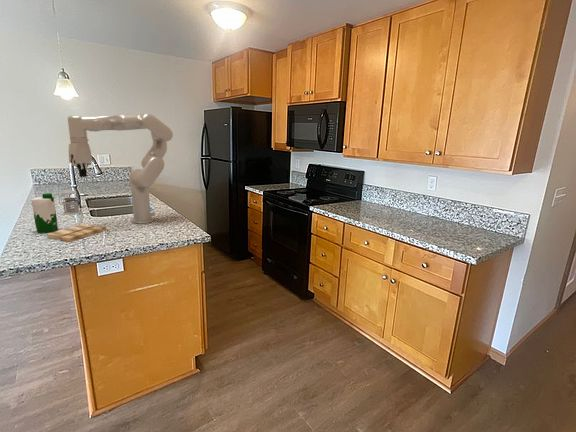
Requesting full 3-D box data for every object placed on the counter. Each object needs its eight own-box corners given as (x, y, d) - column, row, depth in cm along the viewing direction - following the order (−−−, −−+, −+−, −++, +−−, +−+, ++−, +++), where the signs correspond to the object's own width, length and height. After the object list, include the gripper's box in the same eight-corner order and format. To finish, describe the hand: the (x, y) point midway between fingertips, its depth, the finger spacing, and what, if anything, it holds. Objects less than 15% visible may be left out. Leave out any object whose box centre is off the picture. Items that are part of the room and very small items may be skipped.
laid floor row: (97, 229, 176) (96, 225, 175) (106, 230, 174) (105, 226, 174) (60, 240, 155) (59, 236, 155) (69, 242, 154) (69, 238, 153)
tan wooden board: (82, 227, 177) (81, 223, 176) (95, 229, 175) (94, 225, 174) (47, 237, 158) (46, 233, 158) (61, 240, 156) (60, 236, 156)
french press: (74, 215, 203) (69, 176, 197) (56, 214, 203) (50, 175, 197) (84, 211, 213) (79, 174, 207) (67, 211, 213) (62, 173, 207)
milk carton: (55, 232, 167) (49, 195, 162) (34, 234, 164) (28, 195, 159) (60, 228, 175) (55, 192, 170) (40, 229, 172) (34, 192, 167)
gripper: (85, 140, 171) (89, 174, 176) (59, 140, 157) (64, 177, 162) (97, 141, 169) (100, 175, 174) (71, 141, 155) (76, 178, 160)
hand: (83, 176), depth 168 cm, fingers closed
